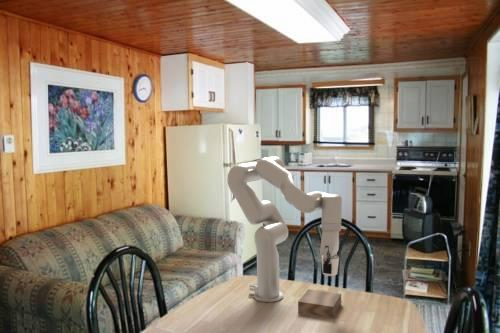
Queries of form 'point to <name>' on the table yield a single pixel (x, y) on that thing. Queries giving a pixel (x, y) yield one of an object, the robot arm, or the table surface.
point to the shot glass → (334, 265)
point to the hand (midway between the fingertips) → (329, 270)
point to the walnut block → (319, 303)
